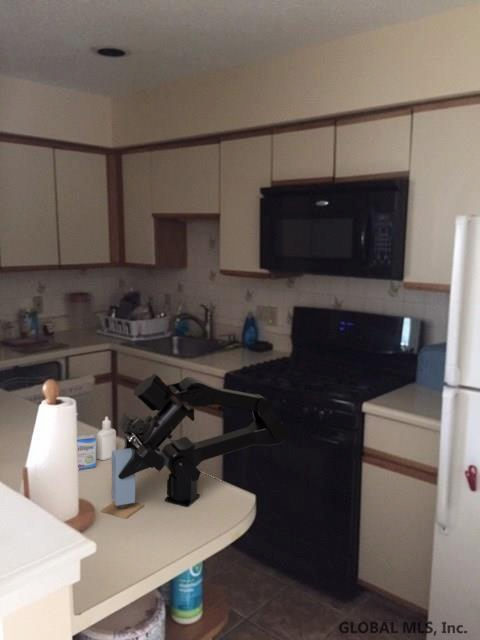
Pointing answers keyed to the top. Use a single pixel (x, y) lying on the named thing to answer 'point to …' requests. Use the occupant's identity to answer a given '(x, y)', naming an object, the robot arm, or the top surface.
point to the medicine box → (86, 451)
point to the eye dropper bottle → (106, 440)
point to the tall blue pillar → (122, 487)
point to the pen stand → (122, 509)
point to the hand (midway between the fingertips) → (117, 473)
